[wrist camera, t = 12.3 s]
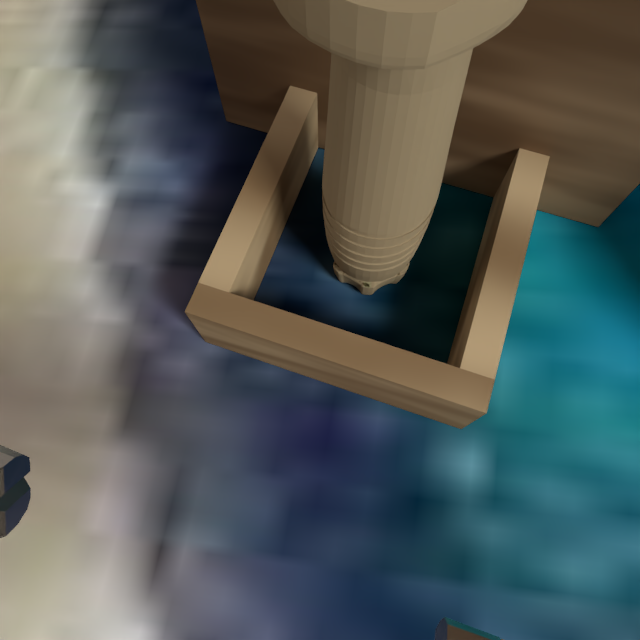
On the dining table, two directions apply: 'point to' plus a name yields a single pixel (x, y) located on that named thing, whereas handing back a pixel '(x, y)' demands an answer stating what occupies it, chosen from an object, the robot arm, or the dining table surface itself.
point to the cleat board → (460, 170)
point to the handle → (390, 118)
